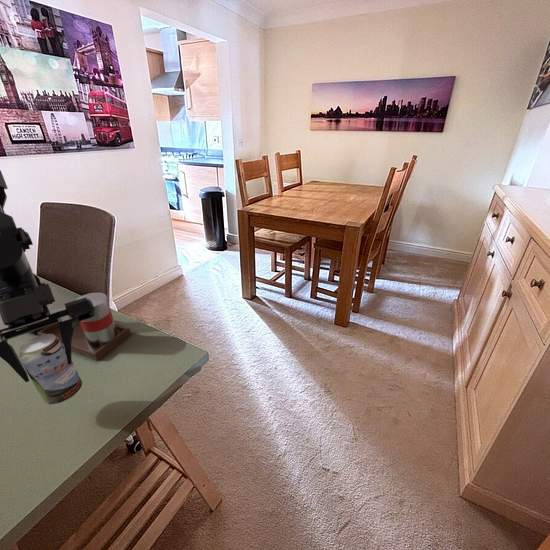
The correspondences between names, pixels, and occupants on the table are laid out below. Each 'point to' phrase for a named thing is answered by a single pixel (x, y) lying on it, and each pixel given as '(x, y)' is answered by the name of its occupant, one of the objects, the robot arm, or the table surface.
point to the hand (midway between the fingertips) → (49, 372)
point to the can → (98, 322)
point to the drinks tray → (81, 345)
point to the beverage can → (50, 368)
